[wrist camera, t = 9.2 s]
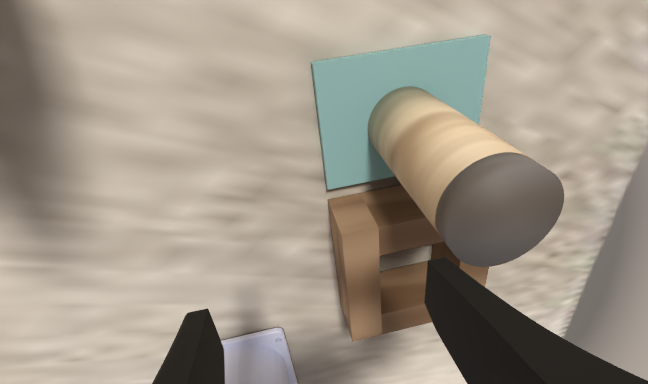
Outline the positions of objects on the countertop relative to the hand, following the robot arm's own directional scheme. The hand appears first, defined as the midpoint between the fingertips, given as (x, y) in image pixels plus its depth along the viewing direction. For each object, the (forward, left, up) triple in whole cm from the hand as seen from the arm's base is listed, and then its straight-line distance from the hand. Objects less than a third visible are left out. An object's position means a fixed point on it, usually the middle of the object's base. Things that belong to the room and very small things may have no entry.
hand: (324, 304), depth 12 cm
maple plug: (+2, -6, -9) cm, 11 cm away
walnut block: (-7, -6, -10) cm, 14 cm away
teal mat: (+2, -6, -10) cm, 12 cm away
